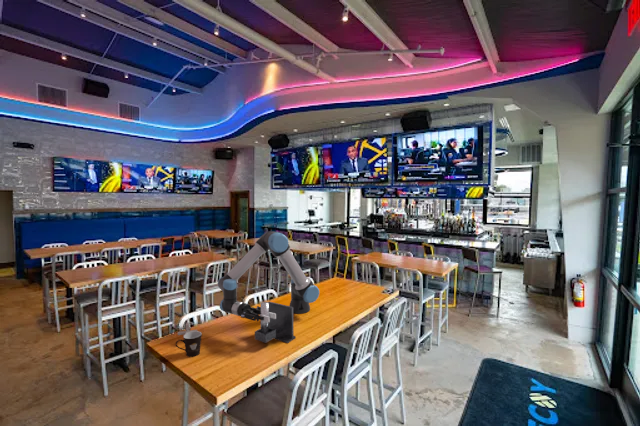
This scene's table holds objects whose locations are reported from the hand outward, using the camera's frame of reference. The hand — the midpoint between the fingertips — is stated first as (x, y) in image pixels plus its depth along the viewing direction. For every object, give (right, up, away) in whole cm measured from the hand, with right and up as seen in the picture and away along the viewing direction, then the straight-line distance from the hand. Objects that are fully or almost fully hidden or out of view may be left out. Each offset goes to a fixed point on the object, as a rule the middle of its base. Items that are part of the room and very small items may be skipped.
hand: (272, 317), depth 163 cm
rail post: (-4, -9, +3) cm, 10 cm away
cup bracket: (-1, -16, +8) cm, 18 cm away
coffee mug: (-41, -17, -5) cm, 45 cm away
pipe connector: (-49, -16, +9) cm, 52 cm away
